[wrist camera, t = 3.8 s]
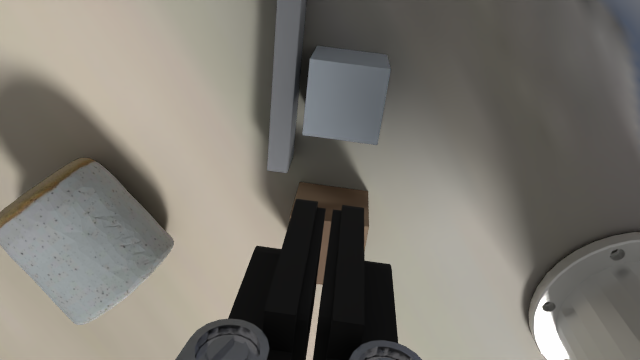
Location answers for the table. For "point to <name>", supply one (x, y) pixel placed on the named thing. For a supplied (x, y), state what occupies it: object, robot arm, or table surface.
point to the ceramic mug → (83, 239)
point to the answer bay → (285, 82)
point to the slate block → (346, 94)
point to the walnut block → (332, 200)
